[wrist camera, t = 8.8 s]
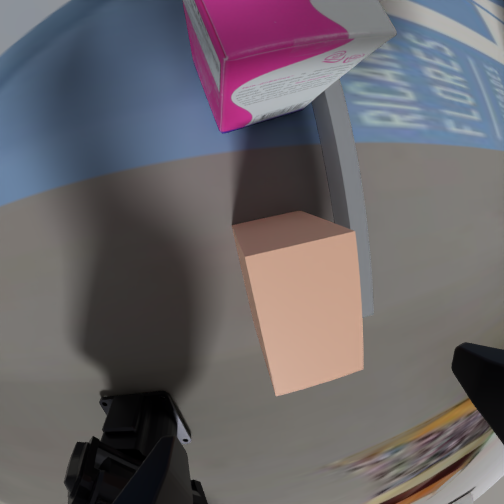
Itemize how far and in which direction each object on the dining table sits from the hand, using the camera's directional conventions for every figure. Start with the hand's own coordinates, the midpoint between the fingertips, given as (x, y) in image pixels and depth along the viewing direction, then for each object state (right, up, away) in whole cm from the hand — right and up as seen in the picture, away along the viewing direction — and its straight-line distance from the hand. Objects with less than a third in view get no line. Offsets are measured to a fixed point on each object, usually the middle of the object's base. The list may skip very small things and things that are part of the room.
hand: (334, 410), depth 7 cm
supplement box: (-3, +15, +10) cm, 18 cm away
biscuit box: (-1, +3, +13) cm, 13 cm away
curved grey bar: (+3, +10, +11) cm, 16 cm away
